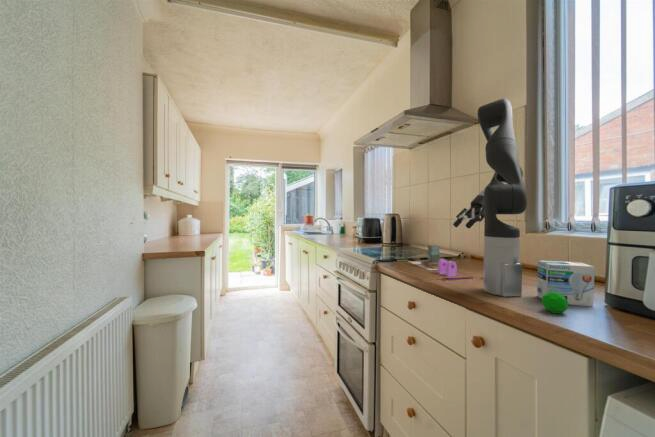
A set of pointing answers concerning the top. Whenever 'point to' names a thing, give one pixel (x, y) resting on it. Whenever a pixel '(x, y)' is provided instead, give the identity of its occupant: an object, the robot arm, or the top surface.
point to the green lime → (554, 302)
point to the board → (420, 265)
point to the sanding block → (432, 257)
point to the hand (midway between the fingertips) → (460, 226)
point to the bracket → (449, 269)
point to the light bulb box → (567, 281)
